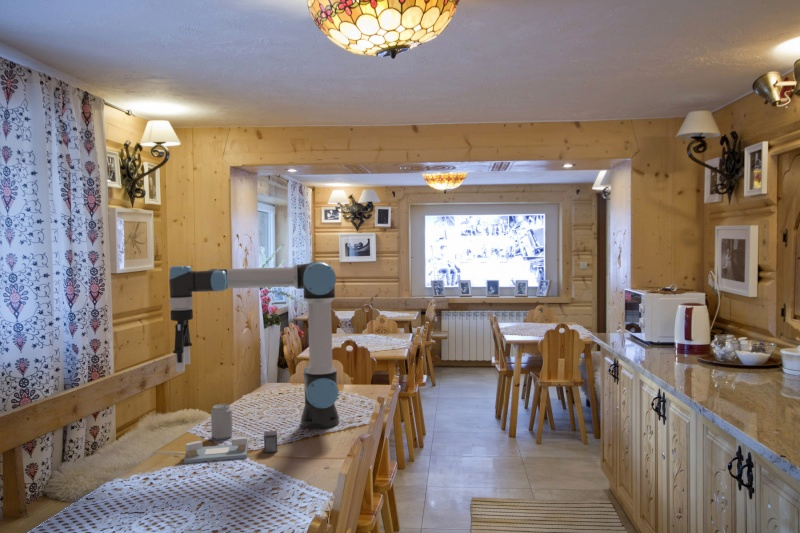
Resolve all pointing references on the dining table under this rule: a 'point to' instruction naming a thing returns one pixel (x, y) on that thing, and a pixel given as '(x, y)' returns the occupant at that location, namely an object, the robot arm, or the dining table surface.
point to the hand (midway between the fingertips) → (183, 367)
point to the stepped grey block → (270, 441)
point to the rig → (216, 451)
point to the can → (221, 421)
